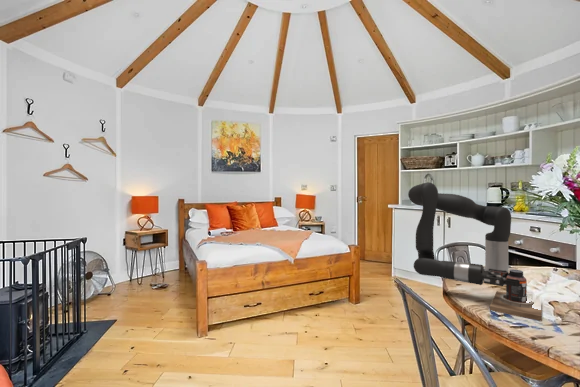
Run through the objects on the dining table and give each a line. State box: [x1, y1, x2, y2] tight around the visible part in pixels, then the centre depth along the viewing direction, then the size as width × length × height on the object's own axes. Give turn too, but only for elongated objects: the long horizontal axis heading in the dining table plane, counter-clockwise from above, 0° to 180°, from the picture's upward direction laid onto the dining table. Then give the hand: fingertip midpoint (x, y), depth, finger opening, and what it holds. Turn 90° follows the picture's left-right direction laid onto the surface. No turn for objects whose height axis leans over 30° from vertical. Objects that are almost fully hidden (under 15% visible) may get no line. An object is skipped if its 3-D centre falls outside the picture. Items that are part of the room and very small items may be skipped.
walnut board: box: [489, 290, 543, 322], centre depth 112 cm, size 20×14×3 cm
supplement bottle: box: [505, 269, 528, 303], centre depth 112 cm, size 6×6×11 cm
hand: (520, 280), depth 111 cm, fingers open, 8 cm apart
